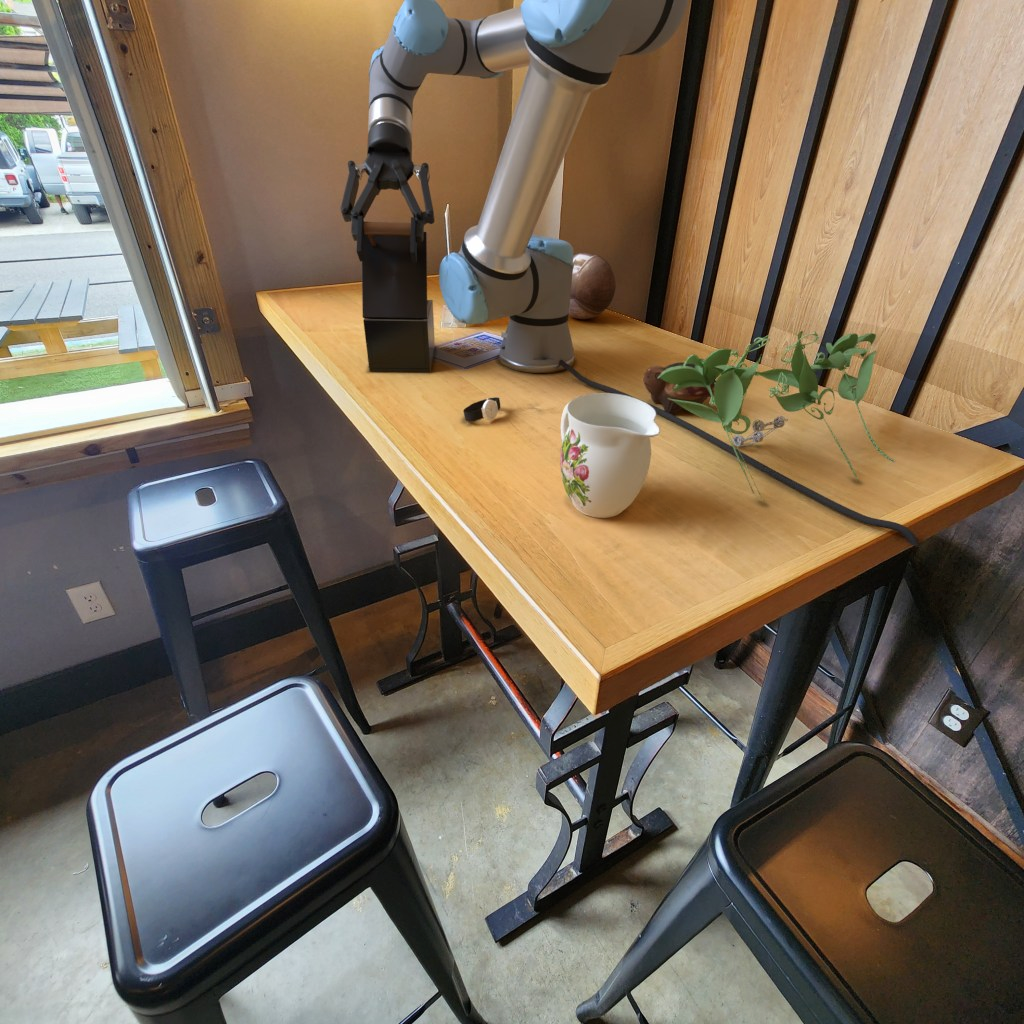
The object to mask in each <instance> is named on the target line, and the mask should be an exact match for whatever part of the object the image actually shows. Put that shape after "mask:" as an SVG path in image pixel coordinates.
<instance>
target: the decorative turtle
mask: <svg viewBox="0 0 1024 1024" xmlns="http://www.w3.org/2000/svg"><path fill="white" fill-rule="evenodd" d="M684 363H685V361H684V362H682V361H681V362H676V363H671V364H668V365H666V366H664V367H663V366H661V365H651V366H649V367H648V368H647V369H646V370H645V372H644V374H643V379H642V380H643V384H644V386H645V389H646V390H647V392H648V393H649V394H650V398H651V402H653V403H654V404H660V403H661V405H662V406H663V409H664V411H666V412H668V413H670V414H672V415H673V414H674V413H675V412H677V411H679V409H681V408H682V407H681V406H679V405H678V404H677V403H675V402H674V401H672V400H669V399H668V398H670V399H676V400H683V401H690V402H696V403H700V404H703V403H704V402H705V401H706V400H708V398H712V397H711V395H710V393H709V391H708V389H707V387H699V386H690V387H686V388H683V389H680V390H677V391H675V392H673V389H674V387H675V386H676V385H675V384H671V383H668V382H666V381H664V380H662V379H661V378H658V376H659V375H660V374H661V373H662V372H663V371H665V370H666V369H668V368H671V367H675V366H683V365H684ZM685 366H689V367H692V368H694V369H695V364H686V365H685ZM716 381H717V379H715V380H714V382H713V383H712V384H711V385H710V388H711V391H712V394H713V396H714V386H715V384H714V383H716Z"/></svg>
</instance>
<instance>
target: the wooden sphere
mask: <svg viewBox="0 0 1024 1024" xmlns="http://www.w3.org/2000/svg"><path fill="white" fill-rule="evenodd" d="M573 264H574V268H573V274H572V285H571V295H570V306H569V316H570V317H571V318H574V319H578V320H589V319H593V318H595V317H598V316H599V315H601V314H602V313H604V312H605V311H606V310H607V309H608V307H609V306H610V305H611V303H612V301H613V300H614V297H615V293H616V286H617V284H616V283H617V282H616V275H615V272H614V270H613V268H612V266H611V265H610V264H609V262H608V261H607V260H606V259H605V258H603V257H602V256H600V255H598V254H596V253H593V252H580V253H576V254H573ZM569 316H568V317H569Z"/></svg>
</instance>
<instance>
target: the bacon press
mask: <svg viewBox="0 0 1024 1024" xmlns="http://www.w3.org/2000/svg"><path fill="white" fill-rule="evenodd" d="M363 230H364V234H365V262H361V296H362V297H361V303H362V304H361V305H362V309H361V310H362V311H361V312H362V319H364V318H374V319H427V300H428V235H427V231H424V240H423V242H417V262H412V258H411V253H410V245H411V222H401V221H400V222H396V221H395V222H394V221H364V222H363Z"/></svg>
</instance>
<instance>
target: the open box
mask: <svg viewBox="0 0 1024 1024" xmlns="http://www.w3.org/2000/svg"><path fill="white" fill-rule="evenodd" d="M362 322H363V329H364V338H365V345H366V346H365V347H366V355H367V363H368V371H369V373H431V371H432V365H433V359H434V354H435V349H436V341H435V320H434V301H433V299H427V319H374V318H363V321H362Z"/></svg>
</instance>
